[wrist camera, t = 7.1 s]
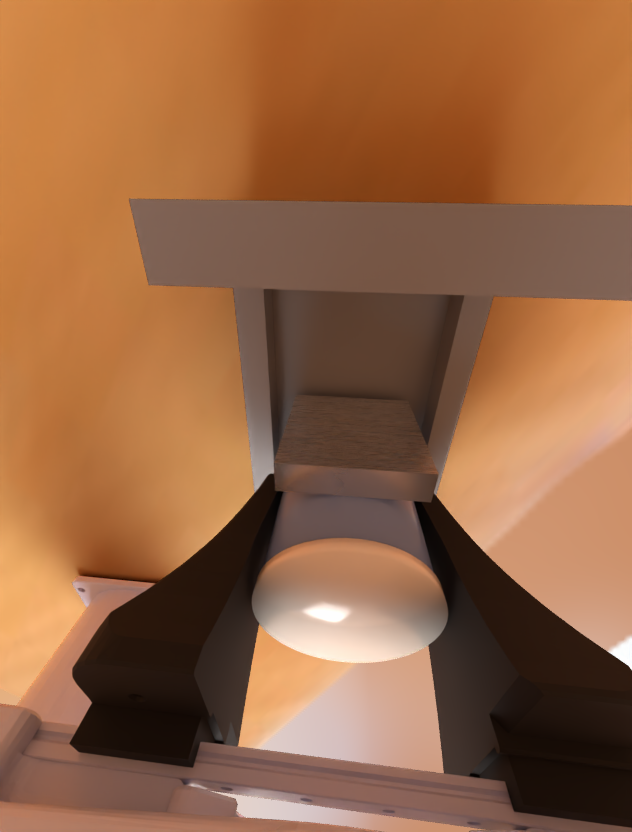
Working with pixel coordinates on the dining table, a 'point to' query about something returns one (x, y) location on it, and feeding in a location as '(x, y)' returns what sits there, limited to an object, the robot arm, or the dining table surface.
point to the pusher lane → (375, 292)
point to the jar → (349, 579)
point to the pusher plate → (354, 450)
